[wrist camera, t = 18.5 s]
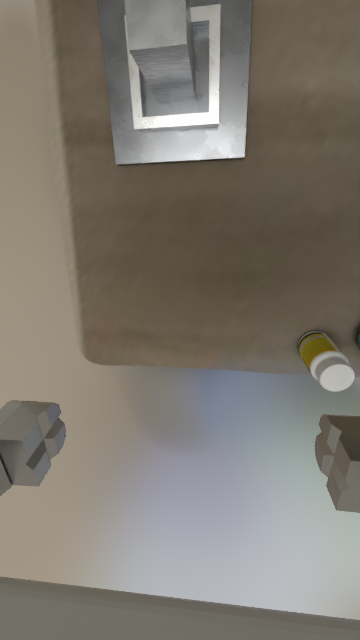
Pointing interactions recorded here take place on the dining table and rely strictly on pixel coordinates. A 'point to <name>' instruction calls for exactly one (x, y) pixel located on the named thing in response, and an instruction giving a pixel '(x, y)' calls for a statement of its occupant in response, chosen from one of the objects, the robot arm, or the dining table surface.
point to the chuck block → (182, 117)
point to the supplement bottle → (325, 361)
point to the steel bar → (163, 47)
